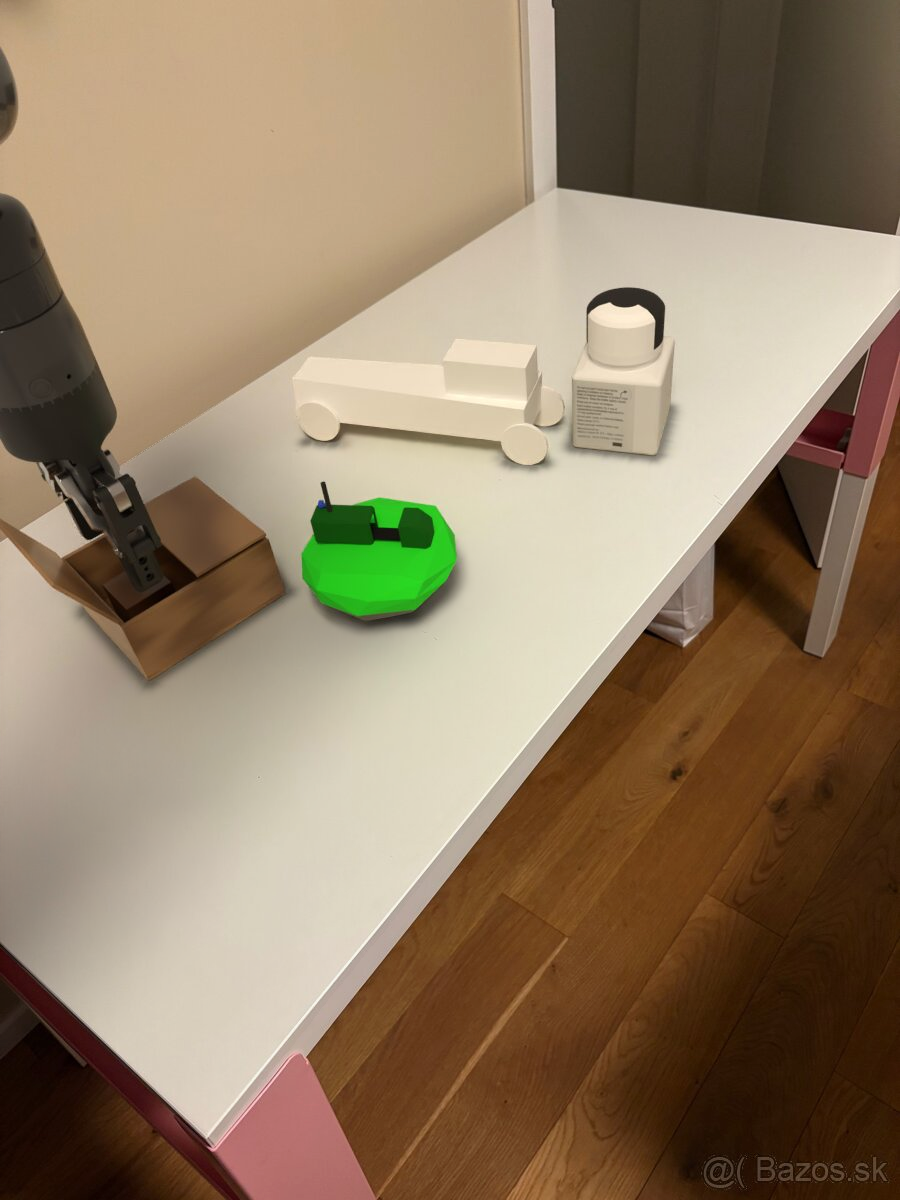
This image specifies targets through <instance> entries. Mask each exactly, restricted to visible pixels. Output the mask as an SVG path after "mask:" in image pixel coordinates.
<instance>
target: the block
mask: <svg viewBox="0 0 900 1200" xmlns="http://www.w3.org/2000/svg"><path fill="white" fill-rule="evenodd" d="M102 586H103V588H104V590H105V592H106V594H107V596H108V598H109V600H110V602H111V604H112V606H113V608H114V610H115V612H116V614H117V616H118V617H119V618H120V619H121V620H122V621H123V622H124V623H126V622H127V621H129V620H131V619H132V618H134V617H136V616H137V615H139V614H140V613H142V612H144V611H145V610H147V609H149V608H150V607H152V606H154V605H155V604H157V603H159V602H160V601H162V600H164V599H165V598H167V597H169V596H170V595H172V594H174V593H175V592H176V591H175V589H174V586H173V584H172V582H171V581H170V580H169V579H168V578H167V577H166V576H165V575H163V579H162V581H161V582H159V583H158V584H156V585H154V586H153V587H151V588H149V589H148V590H146V591H144V592H138V591H137V590H136V589H135V588H134V587H133V586H132V585H131V583H130V581H129V578H128V576H127V574H126V572H123V573H121V574H120V575H118V576H116V577H115V578H113V579H111V580H109V581H108V582H106V583H104V584H103V585H102Z"/></svg>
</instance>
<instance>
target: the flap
mask: <svg viewBox="0 0 900 1200" xmlns="http://www.w3.org/2000/svg"><path fill="white" fill-rule="evenodd" d="M0 531H1V532H2V533H3V534H4V535H5V536H6V538H8V540H9V541H10V542H11V543H12V545H14V546H15V548H16V549H17V550H18V552H20V553H21V555H22V556H23V557H25V559H26V560H27V562H29V564H31V566H32V567H33V568H34V569H35V571H37V572H38V574H39V575H40V576H41V577H42V578H43V579H44V580H45V581H46V583H47V585H49V586H50V587H51V589H54V590H56V591H57V592H60V593H61V594H63V595H65V596H66V597H68V598H70V599H72V600H74V601H75V602H77V603H78V604H81V605H82V606H83V605H84V606H86V607H88V608H89V609H91V610H93V611H95V612H97V613H98V614H100V615H102V616H104V617H105V618H107V619H109V620H111V621H112V622H114V623H116V624H117V623H118V622H119V620H118V619H117V618H116V617H115V615H114V614H113V613H112V612H111V611H110V610H109V609H108V608H107V607H106V606H105V605H104V604H103V603H102V602H101V600H100V599H99V598H98V597H97V596H96V595H95V594H94V593H93V592H92V591H91V590H90V589H89V588H88V586H87V585H86V584H85V583H84V582H83V581H82V580H81V579H80V578H79V577H78V576H77V575H76V574H75V573H74V571H73V570H72V569H71V568H70V567H69V566H68V565H67V564H66V563H65V562H64V561H63V560H62V559H61V558H62V557H61V556H60V555H59V554H58V553H57V551H54V550H52V549H51V548H49V547H48V546H46V545H44V544H43V543H41V542H39V541H37V540H36V539H34V538H33V537H32V536H29V535H27V534H26V533H25V532H23V531H22V530H20V529H18V528H16V527H15V526H13V525H12V524H9V523H8V522H7V521H5V520H3V519H1V518H0Z"/></svg>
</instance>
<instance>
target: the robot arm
mask: <svg viewBox="0 0 900 1200" xmlns="http://www.w3.org/2000/svg"><path fill="white" fill-rule="evenodd" d="M18 117H19V94H18V87H17V83H16V79H15V76H14V72H13V69H12V68H11V65H10V63H9V60H8V58H7V56H6V54H5V52H4V50H3V49H2V46H0V146H1V145H2V144H4V143H5V142H6V141H7V140H8V139H9V137H10V136H11V135H12V133H13V131H14V129H15V126H16V123H17V120H18ZM117 411H118V410H117V407H116V404H115V402H114V400H113V397H112V395H111V392H110V390H109V388H108V385H107V382H106V379H105V378H104V375H103V372H102V371H101V368H100V366H99V363H98V360H97V359H96V355H95V353H94V351H93V349H92V347H91V344H90V341H89V339H88V337H87V334H86V332H85V329H84V326H83V325H82V323H81V320H80V318H79V315H77V313H76V310H75V309H74V307H73V306H72V304H71V302H70V301H69V299H68V297H67V295H66V293H65V291H64V289H63V287H62V285H61V283H60V281H59V278H58V275H57V273H56V271H55V268H54V266H53V263H52V261H51V259H50V257H49V254H48V251H47V249H46V246H45V243H44V241H43V238H42V236H41V234H40V231H39V229H38V227H37V225H36V222H35V220H34V219H33V216H32V215H31V213H30V211H29V210H28V208H27V207H26V205H25V204H24V203H23V202H22V201H20V200H19V199H18V198H17V197H14V196H13V195H11V194H7V193H1V192H0V442H1V444H2V446H3V447H4V449H5V450H6V451H7V452H8V454H10V455H11V456H13V457H14V458H16V459H18V460H20V461H24V462H28V463H35V464H36V466H37V468H38V470H39V472H40V474H41V475H40V476H41V478H42V480H43V481H44V482H46V483H47V484H48V485H49V486H50V487H51V489H52V490H53V491H54V494H55V496H56V497H57V498H59V499H60V500H61V501H64V504H65V506H66V508H67V510H68V512H69V514H70V516H71V519H72V520H73V522H74V524H75V526H76V528H77V530H78V533H79V534H80V535H81V537H82V538H83V539H84V540H86V541H92V540H94V539H96V538H98V537H100V536H102V535H105V536H106V538H107V540H108V541H109V543H110V544H111V546H112V547H113V551H114V553H115V554H116V555H118V557H119V559H120V561H121V564H122V566H123V568H124V570H125V572H126V574H127V576H128V578H129V581H130V583H131V585H132V586H133V587H134V588H135V589H136V590H137V591H138V592H144V591H146V590H148V589H149V588H151V587H153V586H154V585H156V584H158V583H159V582H161V581H162V579H163V573H162V571H161V569H160V566H159V564H158V562H157V560H156V557H155V555H154V553H153V551H154V550H155V549H157V548H159V547H160V546H162V543H161V541H160V540H161V539H160V537H159V535H158V534H157V532H156V530H155V527H154V525H153V523H152V521H151V518H150V516H149V514H148V512H147V509H146V507H145V505H144V504H145V502H144V499H143V498H142V496H141V494H140V491H139V490H138V487H137V485H136V484H137V483H136V480H135V479H134V478H133V477H132V476H131V475H130V474H129V473H123V474H121V473H120V469H121V468H120V464H119V463H118V461H117V460H116V458H115V456H114V454H113V453H112V452H111V451H110V450H109V448H105V449H102V446H103V444H104V441H105V440H106V439H107V437H108V435H109V434H111V432H112V430H113V429H114V427H115V425H116V422H117V419H118V418H117V417H118V412H117ZM134 529H135V531H133V532H132V533H130V534H128V533H129V532H130V531H132V530H134ZM127 534H128V535H127Z"/></svg>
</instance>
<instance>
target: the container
mask: <svg viewBox="0 0 900 1200" xmlns="http://www.w3.org/2000/svg"><path fill="white" fill-rule="evenodd" d="M585 316H586V317H585V319H586V324H585V325H586V326H585V327H586V328H585V329H586V330H585V331H586V332H585V333H586V336H585V337H586V339H585V340H586V342H585V343H584V347H583V348H582V350H581V353H580V356H579V359H578V361H577V363H576V365H575V368H574V370H573V373H572V376H571V402H572V403H571V405H572V406H571V407H572V408H571V410H572V411H571V413H572V445H573V446H574V447H575V448H579V449H580V448H581V449H591V450H598V451H599V450H600V451H609V452H618V453H627V454H637V455H645V456H647V455H648V456H656V455H657V453H658V452H659V448H660V445H661V441H662V437H663V435H664V430H665V427H666V423H667V419H668V416H669V413H670V410H671V399H672V387H673V372H674V371H673V370H674V360H675V359H674V358H675V345H676V340H675V338H674V337H673V336H665V322H666V321H665V319H666V304H665V302H664V301H663V299H661V297H660V296H659V295H658V294H657V293H655V292H653V291H652V290H648V289H645V288H640V287H633V286H632V287H631V286H629V287H628V286H627V287H626V286H625V287H616V288H611V289H606V290H605V291H602V292H600V293H598V294H597V295H595V296H594V297H593V298H592V299H591V300H590V301H589V302H588V304H587V306H586V315H585Z"/></svg>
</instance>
